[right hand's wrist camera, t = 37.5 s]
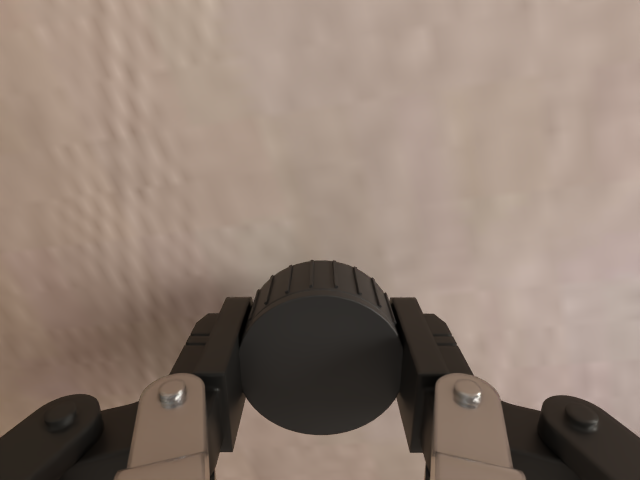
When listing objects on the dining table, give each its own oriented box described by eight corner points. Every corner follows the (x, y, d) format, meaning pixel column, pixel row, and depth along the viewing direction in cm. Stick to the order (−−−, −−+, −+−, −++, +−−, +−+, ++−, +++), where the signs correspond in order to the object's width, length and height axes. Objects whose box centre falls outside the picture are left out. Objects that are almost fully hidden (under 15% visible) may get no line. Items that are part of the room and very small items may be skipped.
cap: (421, 295, 12) (441, 336, 10) (351, 402, 13) (356, 457, 11) (285, 232, 11) (277, 264, 9) (226, 352, 13) (208, 402, 11)
